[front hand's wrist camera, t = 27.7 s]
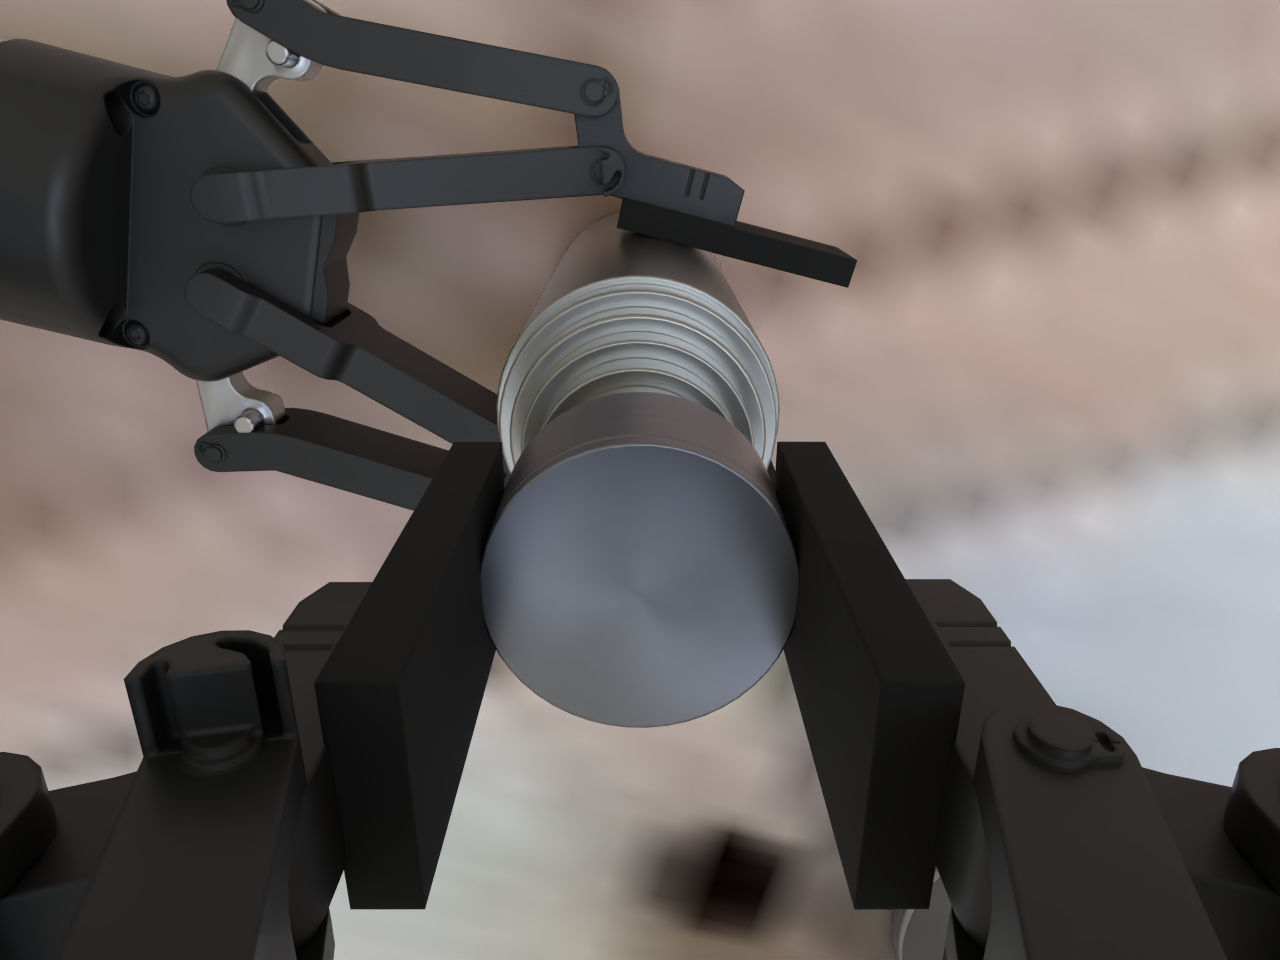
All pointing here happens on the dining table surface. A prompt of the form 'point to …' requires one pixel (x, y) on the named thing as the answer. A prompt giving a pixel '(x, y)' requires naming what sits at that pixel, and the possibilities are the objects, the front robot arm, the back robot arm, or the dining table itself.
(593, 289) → the bottle
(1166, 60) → the dining table surface
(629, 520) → the cap
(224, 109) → the back robot arm
